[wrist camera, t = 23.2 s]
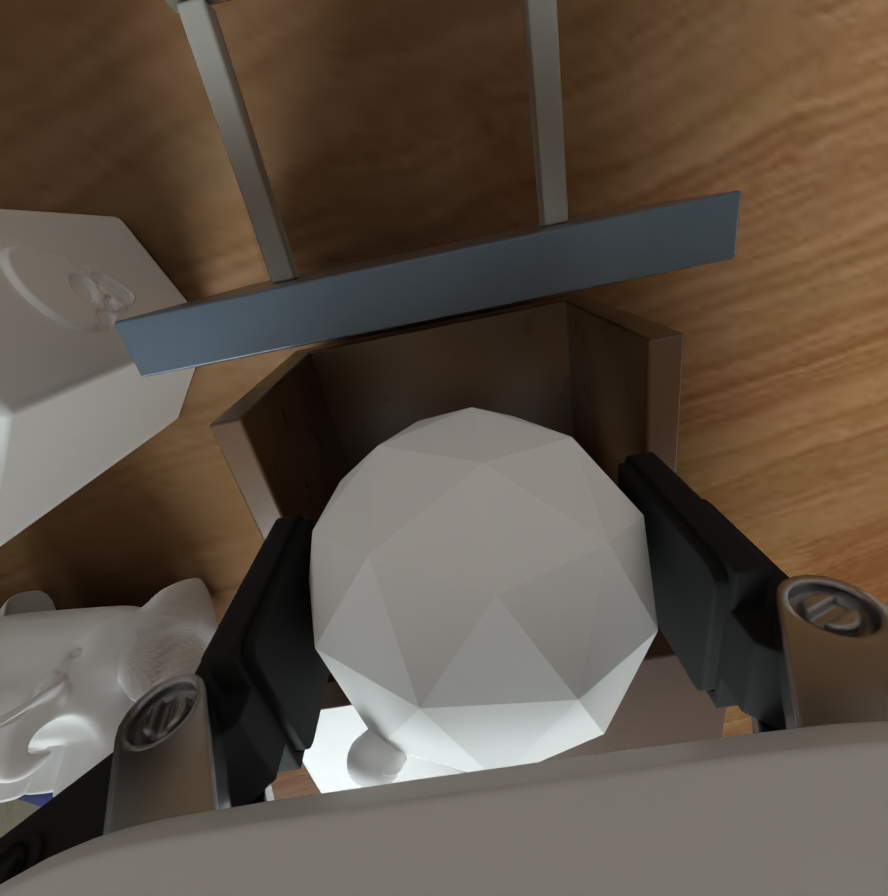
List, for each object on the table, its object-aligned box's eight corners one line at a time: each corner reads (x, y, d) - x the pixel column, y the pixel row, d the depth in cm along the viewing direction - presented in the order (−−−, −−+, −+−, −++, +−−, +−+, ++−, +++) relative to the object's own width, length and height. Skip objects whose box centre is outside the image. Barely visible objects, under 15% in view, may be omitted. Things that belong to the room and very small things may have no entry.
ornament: (586, 576, 14) (480, 874, 9) (402, 455, 15) (218, 675, 10) (770, 470, 9) (732, 1079, 4) (457, 284, 9) (105, 601, 5)
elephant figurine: (-304, 860, 12) (-125, 557, 17) (48, 781, 23) (102, 607, 27) (22, 836, 12) (117, 538, 17) (225, 769, 23) (251, 595, 27)
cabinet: (336, 522, 22) (273, 715, 13) (609, 474, 21) (737, 645, 12) (406, 712, 29) (396, 921, 20) (613, 681, 28) (697, 884, 19)
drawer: (170, 53, 13) (-147, -171, 6) (588, -50, 12) (810, -449, 5) (361, 579, 22) (329, 739, 15) (605, 538, 21) (691, 686, 14)
